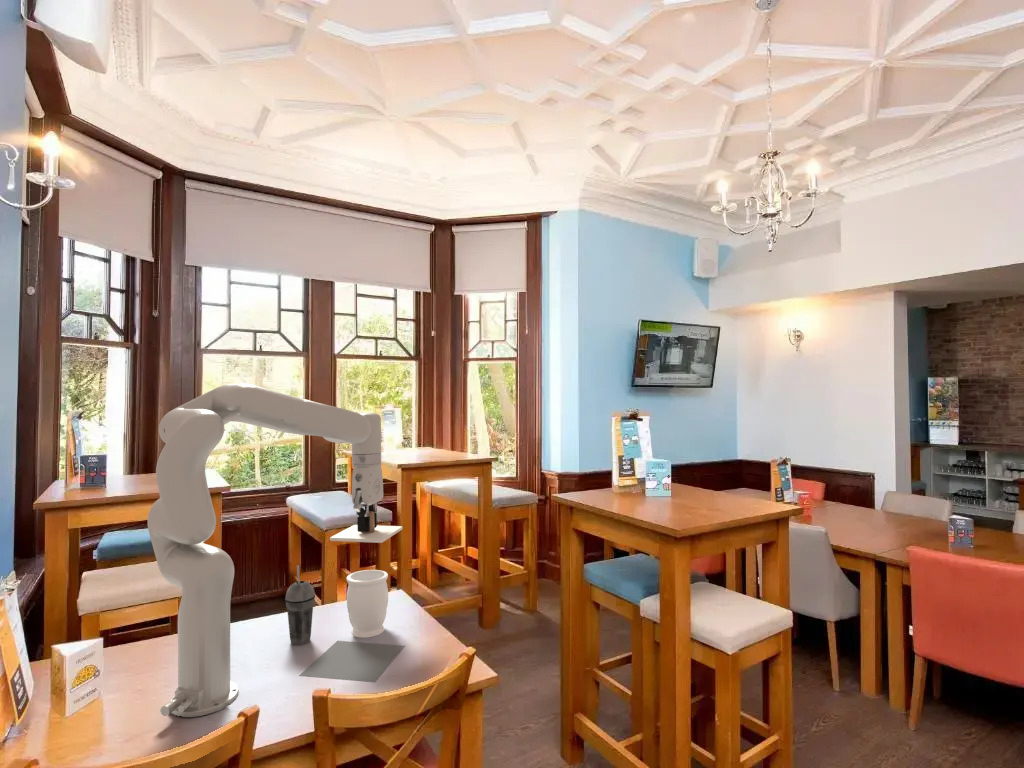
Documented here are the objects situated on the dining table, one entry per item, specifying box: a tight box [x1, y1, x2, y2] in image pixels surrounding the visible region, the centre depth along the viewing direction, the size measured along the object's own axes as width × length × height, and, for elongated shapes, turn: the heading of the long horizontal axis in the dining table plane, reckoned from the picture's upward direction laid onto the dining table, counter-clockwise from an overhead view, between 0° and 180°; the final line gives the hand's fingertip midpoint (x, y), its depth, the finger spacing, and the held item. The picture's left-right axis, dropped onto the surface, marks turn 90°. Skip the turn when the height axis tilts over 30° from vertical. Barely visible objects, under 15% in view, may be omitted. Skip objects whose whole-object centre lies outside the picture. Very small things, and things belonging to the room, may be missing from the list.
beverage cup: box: [284, 565, 316, 647], centre depth 145 cm, size 7×7×20 cm
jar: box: [346, 569, 389, 638], centre depth 152 cm, size 11×10×15 cm
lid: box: [329, 511, 403, 544], centre depth 152 cm, size 14×14×6 cm
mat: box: [298, 640, 406, 683], centre depth 135 cm, size 18×18×1 cm
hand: (367, 528), depth 152 cm, fingers closed on lid, 3 cm apart
